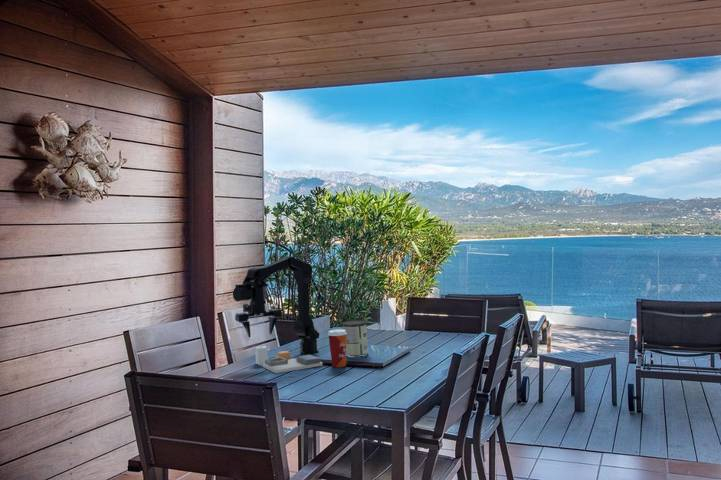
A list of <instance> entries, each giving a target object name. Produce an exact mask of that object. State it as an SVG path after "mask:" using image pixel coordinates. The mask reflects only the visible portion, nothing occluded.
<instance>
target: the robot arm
mask: <svg viewBox="0 0 721 480" xmlns="http://www.w3.org/2000/svg"><path fill="white" fill-rule="evenodd" d="M284 269H288V270H290V271H291V272H292V273H293V274H292V275H293V278H294V279H295V282H296V284H297V306H298V307H297V308H298V316H297V318H296V319H294V320H293V325H294V326H293V330H294V331H295V334H296V335H297V338H298V339H300V343H299V347H300V349H299V350H300V351H299V352H300V353H302V354H303V355H311V354H313V353H314V354H316V353H319V350H318V343H317V342H318V339H320V332H318V331H317V329H315V326H314V321H313V319H312V316H311V314H310V313H311V312H310V311H311V310H310V284H309V283H310V281H311V279H312V277H313V267H312V265H311V264H310V263H309V262H304V261H302V260H300V259H297V258H296V257H294V256H285V257H283V258H281V259H278V260H276V261H274V262H271V263H268V264H266V265H264V266H257V267H252V268H249V269H248V270H247V273H246V276H245V277H244V280H243V282H242V283H241V284H235V286H234V287H235V288H234V289H233V290H232V291H233V292H232V297H233V299H234V302H237V303H238V302H244V301H249V304H248V303H245V304H242V311H243V312H240V313H239V312H238V313H235V315H234V320H235V321H236V322H238V323H241V324H242V326H243V328H244V329H245V332H246V334H247V337H248V338H251V325H250V321H249V319H254V318H255V319H257V318H263V317H268V323H269V324H268V325H269V326H268V329H269V330H268V332H269V335H273V334H272V333H273V330H274V327H275V325H276V323H277V321H278V320H279V319H280V317H283V311H282V310H281V309H279V308H272V309H269V310H268V311H267V310H266V302H267V301H266V299H265V288H266V287H269V284H268V283H267V282H266V281H265V280H267V279H268V278H269V277H270V276H271V275H273V274H275V273H278V272H280V271H282V270H284Z"/></svg>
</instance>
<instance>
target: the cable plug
mask: <svg viewBox="0 0 721 480" xmlns="http://www.w3.org/2000/svg"><path fill="white" fill-rule="evenodd" d="M276 353H277V354H276V355H275V356H274V358H279V357H282V358H285V359H287V360H288V359H291V352H290V351H288V350H283V351H282V350H281V351H277V352H276Z"/></svg>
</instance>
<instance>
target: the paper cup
mask: <svg viewBox="0 0 721 480" xmlns="http://www.w3.org/2000/svg"><path fill="white" fill-rule="evenodd" d="M346 334H347V333H346V330H343V328H342V329H341V328H340V329H332V330H331V329H330V330H329V331H328V334H327V336H328V340H329V341H328V342H329V349H330V359H331V366H332V368H344V367H346V366H347V357H346Z"/></svg>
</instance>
